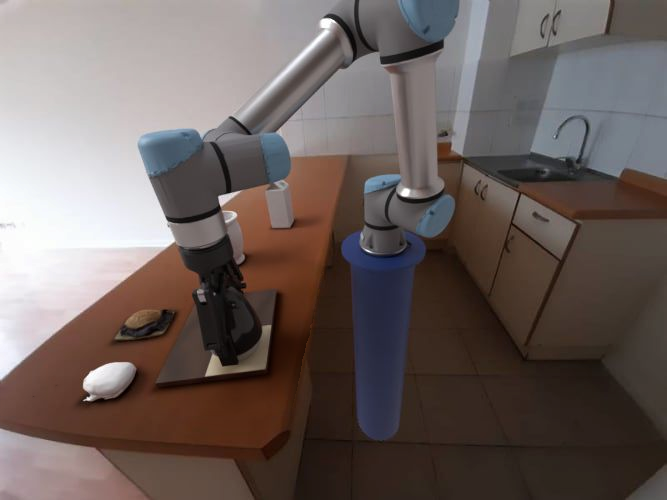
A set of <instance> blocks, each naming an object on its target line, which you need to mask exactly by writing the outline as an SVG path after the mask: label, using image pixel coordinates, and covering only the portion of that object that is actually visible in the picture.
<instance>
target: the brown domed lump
mask: <svg viewBox="0 0 667 500" xmlns="http://www.w3.org/2000/svg"><path fill="white" fill-rule="evenodd" d="M175 314H176V312H175V311H172V310H171V309H166V308H162V309H161V310H158V309H149V308H148V309H141V310H139V311H137V312H134V313H132V314H131V315H130V316H129V317H128V318H127V319H126V320H125V322H124V324H123V325H122V326H120V329H119V331H118V333H116V336H115V337H114V341H118V342H119V341H134V340H140V339H141V340H142V339H146V338H147V339H150V338H152V337H159V336H164V334H165V333H166V332H167V329H168V328H169V326H170V324H171V322H172V321H173V318H174V316H175Z"/></svg>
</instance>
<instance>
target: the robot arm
mask: <svg viewBox="0 0 667 500" xmlns="http://www.w3.org/2000/svg"><path fill="white" fill-rule="evenodd" d="M460 3H461V1H460V0H338V1H337V2H336V3H335V4H334V5H333V7H332V8H331V9H330V10H329V11H328V12H327V13H326V14H325V15H324V16H323V17H322V18H321V19H320V20H319V21H318V22H317V23H316V27H315V33H314V34H313V35H312V36H311V37H310V38H308V40H307V41H305V43H303V45H301V47H299V49H297V50H296V51H295V52H294V53H293V54H292V55H291V56H290V57H289V58H288V59H287V60H286V61H285V62H284V63H283V64H282V65H281V66H280V67H279V68H278V69H277V70H275V72H273V73H272V74H271V75H270V76H269V77H268V78H267V79H266V80H265V81H264V82H263V83H262V84H261V85H260V86H259V87H258V88H257V89H256V90H255V91H254V92H252V93H251V95H249V96H248V98H246V99H245V100H244V101H243V102H242V103H241V104H240V105H238V107H237V108H236V109H235V110H234V111H233V112H231V114H230V115H229V116H228V117H227V118H226V119H225V120H223V121H222V122H221V123H220V124H219V125H218V126H217V127H216V128H212V129H208V130H207V131H205V132H203V134H202V135H201V134H200V132H199V131H198V130H196V129H195V128H176V129H166V130H165V129H164V130H159V131H153V132H148V133H145V134H143V135H141V136H140V137H139V139H138V141H137V149H138V151H139V154H140V156H141V161H142V163H143V166H144V168H145V171H146V175H147V177H148V179H149V182H150V184H151V186H152V190H153V192H154V194H155V196H156V198H157V201H158V203H159V206H160V208H161V210H162V213H163V215H164V217H165V220H166V226H167V228H169V229H170V232H171V235H172V237H173V239H174V241H175V244H176V245H177V246H178V248H177V249H178V253H179V255H180V258H181V260H182V263H183V265H184V267H185V268H186V269H187V270H188V271H191V272H194V273H195V274H197V275H198V282H199V285H200V286H199V288H198V289H193V290H192V291H191V297H192V299H193V302H194V305H195V304H196V308H197V313H198V318H199V324H200V329H201V334H202V339H203V345H204V349H205V351H208V350H216V353H217V355H218V357H219V360H220V362H221V365H222V367H223V366H231V365H238V362H239V360H238V357H237V355H236V352H235V349H234V347H233V344H232V341H231V338H230V336H229V335H227V334H226V322H225V309H224V299H225V298H226V285H229V286H232V287H234V288H236V289H237V290H238V291H240V292H241V293H242V294H243V295H244V289H247V283H246V282H244V279H245V277H244V274H243V273H242V271H241V268H240V267H239V266H238V265H237V263H236V261H235V259H234V257H233V255H234V251H233V247H232V244H231V240H230V237H229V235H228V234H227V232H228V229H227V225H226V222H225V219H224V215H223V212H222V211H223V209H222V207H221V204H220V199H219V197H220V196H226V195H229V194H233V193H236V192H237V193H238V192H241V191H245V190H249V189H254V188H259V187H263V186H266V185H268V186H270V185H271V184H272V183H274V182H277V181H280V180H285V179H287V178H288V177H289V175H290V173H291V169H292V160H291V153H290V150H289V146H288V144H287V142H286V141H285V139H284V138H283V136H281V135H280V134H279V133H277V132H278V131H279V130H280V129H281V128H282V127H283V126H284V125H285V124H286V123H287V122H288V121H289V120H290V119H291V118H292V117H293V116H294V115H295V114H296V113H297V112H298V111H299V110H300V108H302V107H303V106H304V105H305V104H306V103H307V102H308V101H309V100H310V99H311V98H312V97H313V96H314V95H315V94H316V93H317V92H318V91H319V90H320V89H321V88H322V87H323V86H324V85H325V84H326V83H327V82H328V81H330V79H331V78H332V77H333V76H334V75H335V74H336V73H337V72H338V71H340V70H346V69H349V67H350V66H351V65H352V64H353V63H354V62H355V61H357V60H358V59H360V58H363V57H365V56H368V55H370V54H375V53H378V54H379V62H380V66H381V68H383V69H384V70H385V71H386V72H388V74H389V80H390V90H391V99H392V107H393V117H394V127H395V135H396V147H397V154H398V156H397V157H398V164H399V165H398V166H399V173H398V174H396V173H395V174H393V173H391V174H381V175H376V176H373V177H370V178H368V179H367V180H366V181H365V183H364V190H363V191H364V192H363V205H364V206H363V207H364V209H363V210H364V226H363V229H362V230H363V232H361V235H360V236H361V237H360V241H359V245H360V249H361V251H362V252H363V253H365V254H367V255H369V256H372V257H377V258H390V257H395V256H398V255H400V254H402V253H403V252H404V251H405V250H406V245H407V244H408V245H410V246H411V245H412V243H410V242H409V241H408V240H406V237H405V234H404V231H407V232H410V233H412V234H414V235H416V236H421V237H424V238H429V239H431V238H434V237H436V236H438V235H439V234H441V233H442V232H443V231H444V230H445V229H446V227H447V226H448V224H449V223H450V222H451V219H452V217H453V216H454V212H455V209H456V201H455V198H454V197H453V196H452V195H450V194H446V192H445V190H446V189H445V188H446V187H445V186H446V185H445V180H444V179H443V178H442V177H440V176H439V174H438V173H439V171H438V126H437V123H438V122H437V121H438V120H437V117H438V116H437V73H436V71H437V70H436V62H437V61H438V58H439V57H440V55H441V54H442V53H443V52H444V50H445V39H446V38H447V37H448V36H450V34H451V33H452V31H453V29H454V27H455V26H456V19H457V18H458V15H459V12H460ZM403 230H404V231H403ZM219 292H220V295H215V293H219Z"/></svg>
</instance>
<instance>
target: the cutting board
mask: <svg viewBox="0 0 667 500" xmlns="http://www.w3.org/2000/svg"><path fill="white" fill-rule="evenodd" d="M243 292H244V291H243ZM244 296H245V297H246V299H247V300H248V301H249V302H250V304H251V305H252V307H253V308H254V310H255V311H256V313H257V315H258V317H259V319H260V321H261V324H262V329H263V331H262V336H261V340H260V343H259V345H258V347H257V349H256V350H255V351H254V352H253V353H252V354H251V355H250V356H248V357H247V358H245V359H243V360H240V361H239V362H238V365H231V366H223V367H222V365H221V362H220V360H219V358H218V357H217V356H215V355H213V354H212V353H211V352H210V350H208V351H205V349H204V345H203V339H202V334H201V329H200V324H199V318H198V313H197V308H196V304H195V303H194V304H193V306H192V309H191V311H190V313H189V315H188V317H187V319H186V321H185V323H184V324H183V327H182V328H181V330H180V333H179V335H178V337H177V338H176V341H175V343H174V344H173V347H172V349H171V350H170V353H169V354H168V356H167V358H166V360H165V363H164V364H163V366H162V368H161V369H160V370H161V371H160V372H159V374H158V376H157V378H156V380H155V382H154V385H155V386H156V388H157V389H160V388H168V387H175V386H176V387H177V386H184V385H192V384H201V383H208V382H215V381H224V380H232V379H241V378H248V377H254V376H262V375H263V376H264V375H268V371H269V364H270V363H269V362H270V356H271V347H272V338H273V331H274V322H275V315H276V308H277V307H276V306H277V301H278V300H277V299H278V289H277V288H272V289H264V290H254V291H245V292H244Z"/></svg>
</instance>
